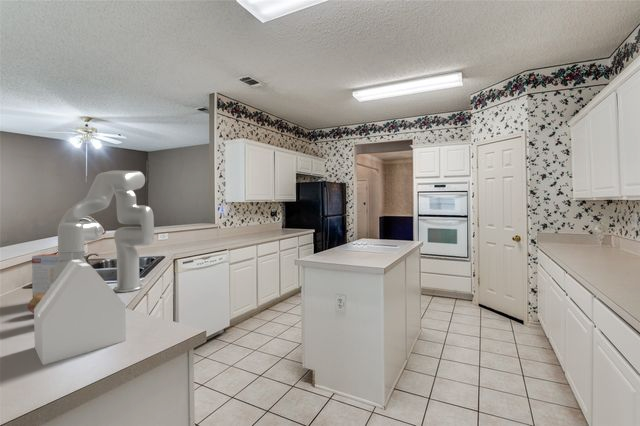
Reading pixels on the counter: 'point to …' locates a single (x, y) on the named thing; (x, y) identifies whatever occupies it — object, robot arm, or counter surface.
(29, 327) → the counter surface
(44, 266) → the cracker box
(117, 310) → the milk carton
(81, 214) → the robot arm
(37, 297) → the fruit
